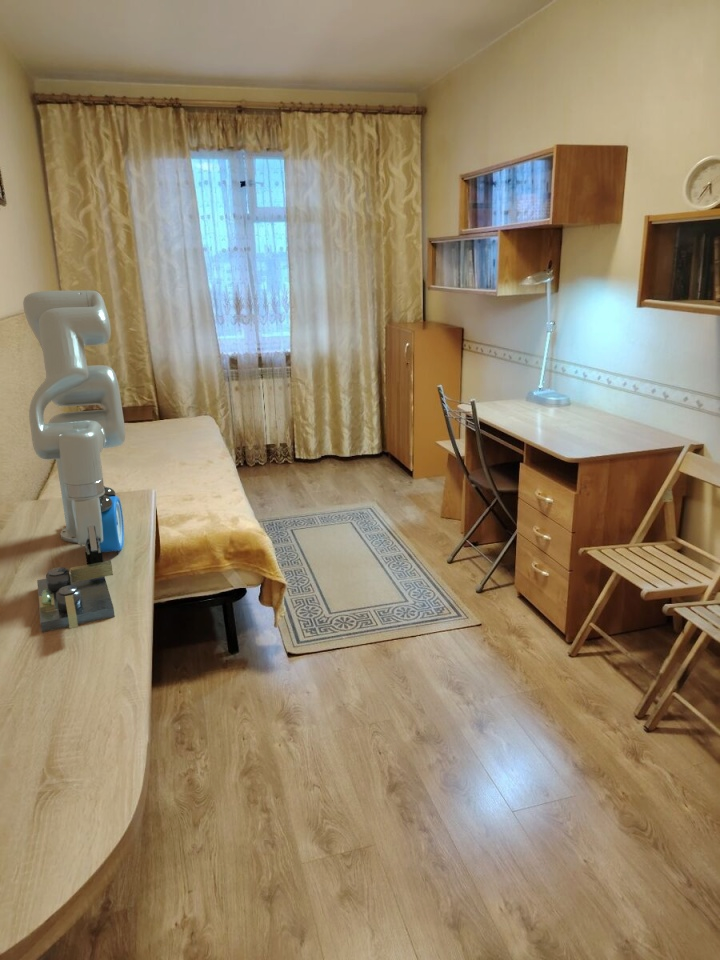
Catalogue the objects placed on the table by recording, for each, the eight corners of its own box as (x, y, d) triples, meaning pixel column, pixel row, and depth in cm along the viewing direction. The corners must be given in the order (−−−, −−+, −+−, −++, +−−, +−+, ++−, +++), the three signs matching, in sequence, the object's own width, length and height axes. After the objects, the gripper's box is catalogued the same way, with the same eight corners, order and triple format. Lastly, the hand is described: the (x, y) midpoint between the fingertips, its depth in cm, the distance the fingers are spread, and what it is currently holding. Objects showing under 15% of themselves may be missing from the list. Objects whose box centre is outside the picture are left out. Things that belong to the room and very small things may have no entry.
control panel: (38, 588, 143) (35, 569, 141) (103, 576, 148) (100, 558, 147) (41, 632, 126) (38, 611, 124) (114, 616, 131) (112, 596, 130)
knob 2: (57, 603, 132) (54, 586, 131) (81, 598, 134) (79, 582, 132) (61, 633, 121) (58, 615, 120) (87, 627, 123) (84, 610, 122)
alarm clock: (120, 559, 157) (113, 499, 152) (92, 562, 155) (84, 501, 151) (125, 538, 169) (119, 482, 164) (99, 541, 168) (92, 484, 163)
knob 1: (48, 592, 136) (45, 576, 135) (47, 584, 140) (44, 568, 139) (114, 580, 141) (112, 564, 140) (111, 572, 145) (109, 557, 144)
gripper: (62, 481, 144) (74, 559, 150) (67, 501, 131) (79, 586, 137) (99, 476, 147) (109, 553, 153) (108, 495, 134) (118, 579, 140)
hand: (95, 568), depth 145 cm, fingers closed
